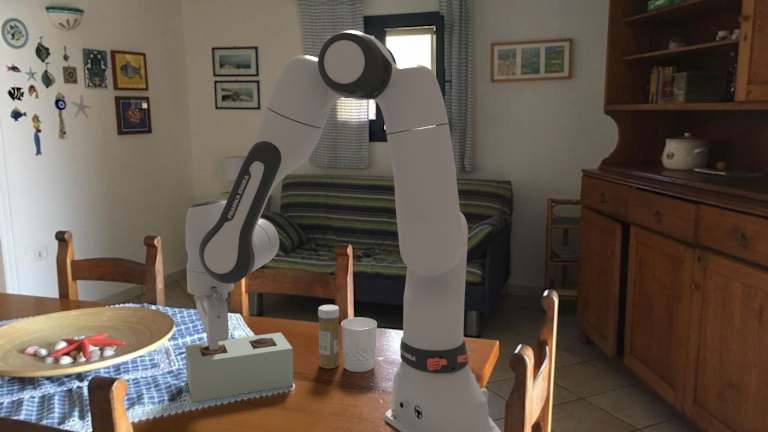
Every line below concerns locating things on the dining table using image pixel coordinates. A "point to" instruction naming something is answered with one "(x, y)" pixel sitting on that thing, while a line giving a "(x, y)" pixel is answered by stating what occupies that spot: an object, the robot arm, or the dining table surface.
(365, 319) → the white cup
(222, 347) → the peg
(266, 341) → the peg
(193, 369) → the block
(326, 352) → the sprinkles bottle
